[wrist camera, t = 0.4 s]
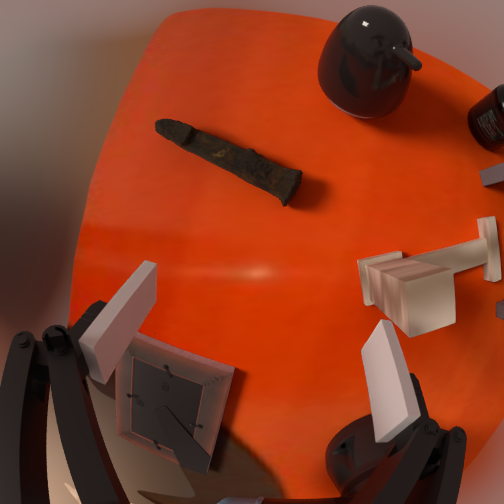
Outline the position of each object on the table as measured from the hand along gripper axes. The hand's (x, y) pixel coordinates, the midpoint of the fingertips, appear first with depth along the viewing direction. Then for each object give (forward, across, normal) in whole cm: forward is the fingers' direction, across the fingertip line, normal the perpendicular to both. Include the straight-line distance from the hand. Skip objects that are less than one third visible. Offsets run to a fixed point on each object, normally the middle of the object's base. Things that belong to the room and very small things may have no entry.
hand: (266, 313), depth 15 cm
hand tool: (+21, +8, -3) cm, 22 cm away
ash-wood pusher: (+15, -19, 0) cm, 24 cm away
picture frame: (+7, +8, +29) cm, 31 cm away
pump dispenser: (+24, -6, -16) cm, 29 cm away
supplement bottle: (+22, -25, -20) cm, 39 cm away
